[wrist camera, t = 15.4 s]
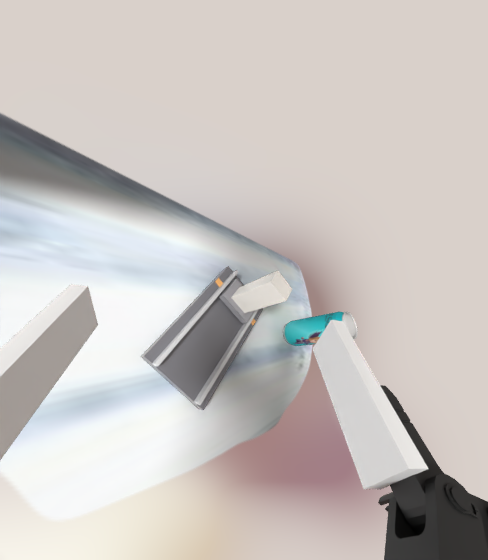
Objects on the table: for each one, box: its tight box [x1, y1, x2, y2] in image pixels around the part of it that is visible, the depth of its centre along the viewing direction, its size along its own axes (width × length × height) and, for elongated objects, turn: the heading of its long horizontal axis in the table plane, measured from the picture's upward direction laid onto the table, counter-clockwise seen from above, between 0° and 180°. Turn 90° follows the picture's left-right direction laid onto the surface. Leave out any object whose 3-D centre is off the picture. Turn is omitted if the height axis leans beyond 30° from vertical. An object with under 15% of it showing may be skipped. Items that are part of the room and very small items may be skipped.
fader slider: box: [219, 271, 292, 324], centre depth 36 cm, size 5×7×11 cm
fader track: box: [141, 266, 263, 410], centre depth 36 cm, size 22×12×3 cm, turn 142°
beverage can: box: [283, 312, 357, 346], centre depth 45 cm, size 6×6×15 cm
